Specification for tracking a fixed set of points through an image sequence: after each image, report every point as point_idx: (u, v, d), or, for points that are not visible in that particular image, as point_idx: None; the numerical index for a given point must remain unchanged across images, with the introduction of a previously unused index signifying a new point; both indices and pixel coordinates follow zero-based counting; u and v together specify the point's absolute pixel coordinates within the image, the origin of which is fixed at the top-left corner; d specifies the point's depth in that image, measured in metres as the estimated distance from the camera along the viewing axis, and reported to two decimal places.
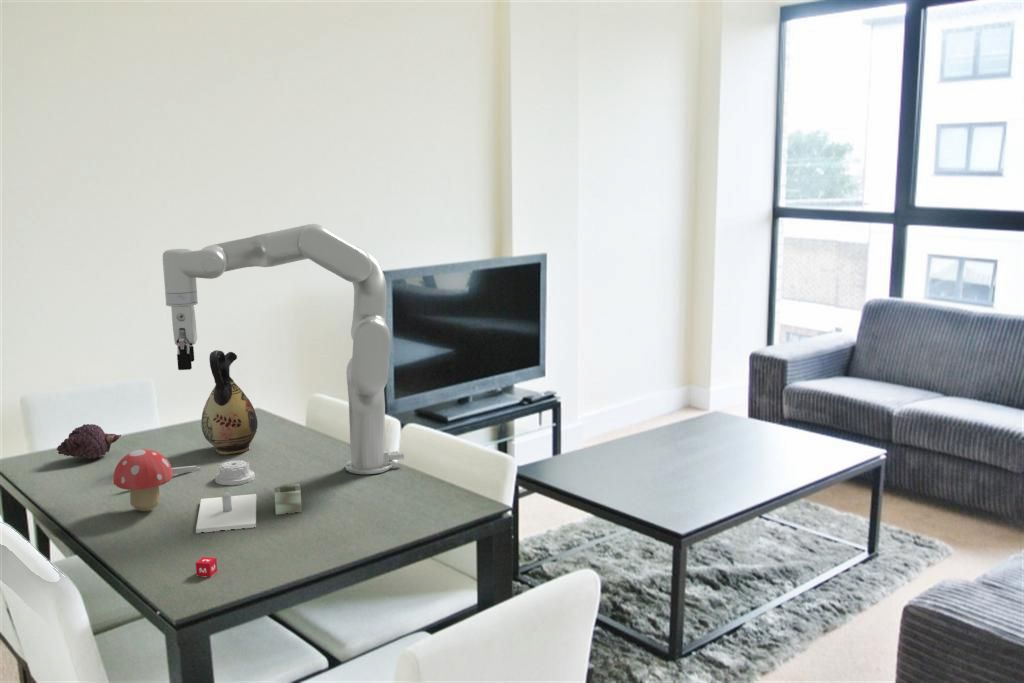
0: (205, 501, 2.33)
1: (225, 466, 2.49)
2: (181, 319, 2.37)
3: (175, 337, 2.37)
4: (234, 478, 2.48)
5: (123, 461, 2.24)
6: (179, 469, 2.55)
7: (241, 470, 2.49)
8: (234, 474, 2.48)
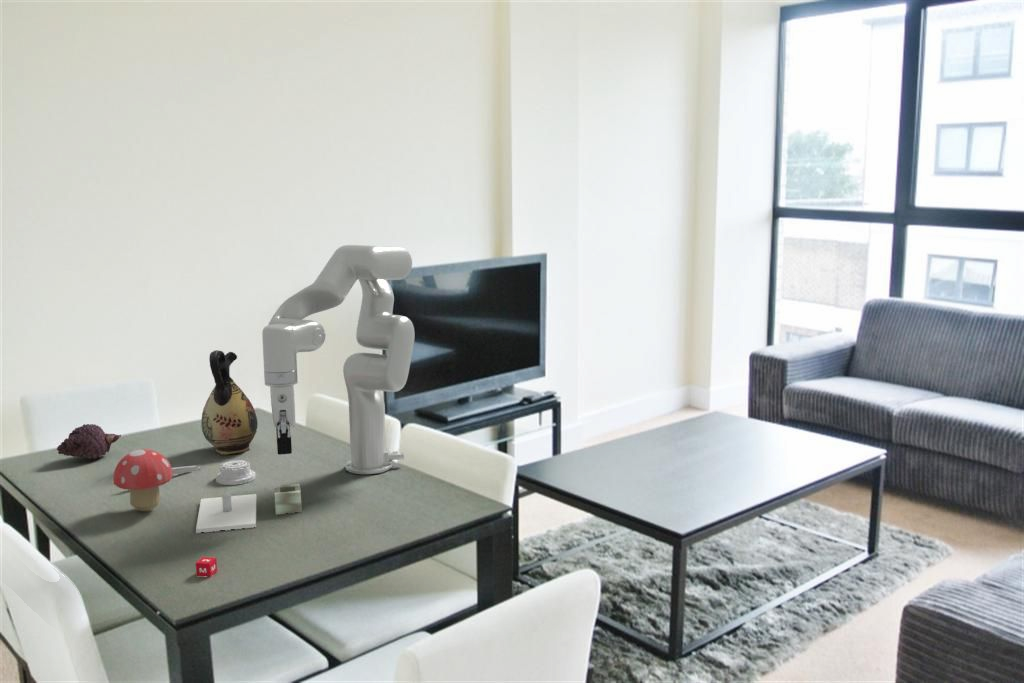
0: (205, 501, 2.33)
1: (226, 466, 2.49)
2: (281, 400, 2.21)
3: (275, 419, 2.21)
4: (235, 478, 2.48)
5: (123, 461, 2.24)
6: (179, 469, 2.55)
7: (242, 470, 2.49)
8: (235, 474, 2.48)
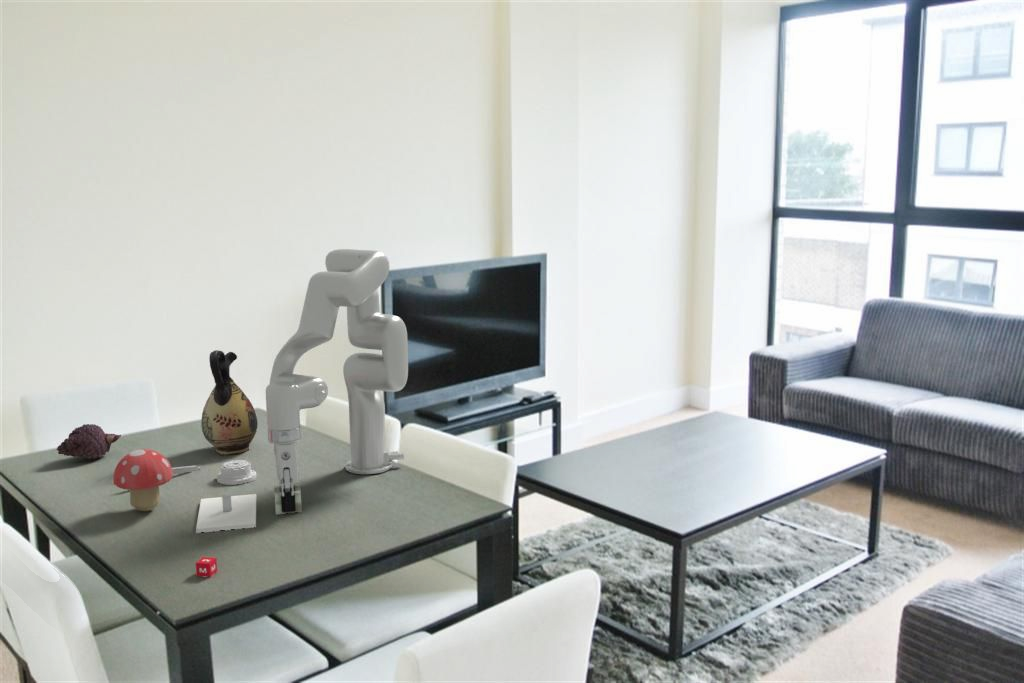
0: (205, 501, 2.33)
1: (227, 466, 2.50)
2: (285, 457, 2.24)
3: (279, 477, 2.23)
4: (236, 478, 2.48)
5: (123, 461, 2.24)
6: (179, 469, 2.55)
7: (243, 470, 2.49)
8: (236, 474, 2.48)
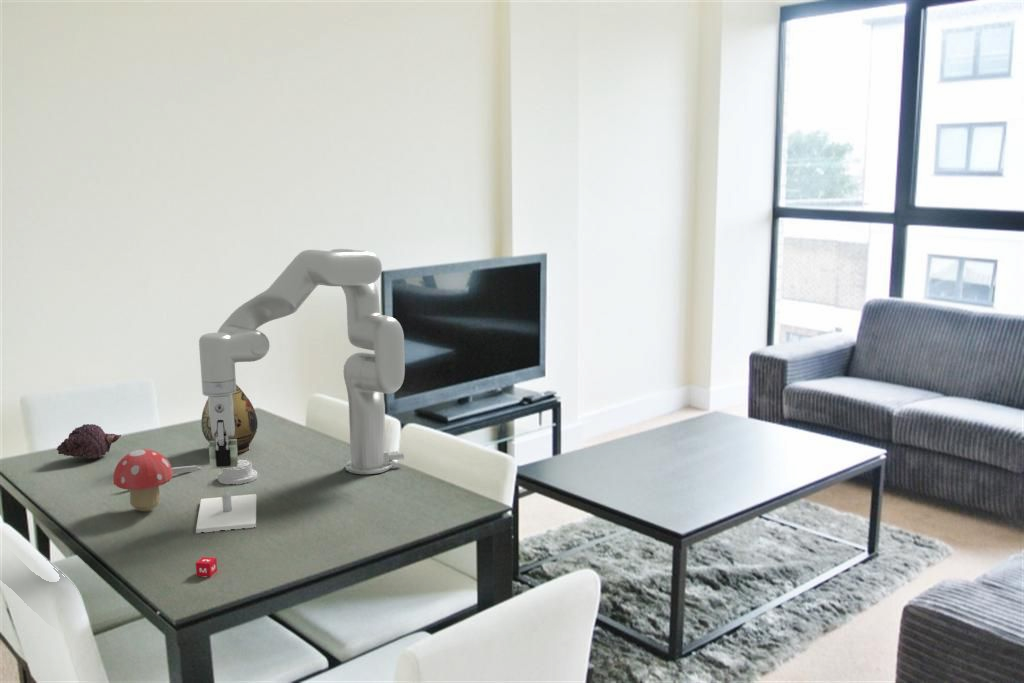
0: (205, 501, 2.33)
1: None
2: (219, 410, 2.18)
3: (213, 430, 2.18)
4: (237, 477, 2.48)
5: (123, 461, 2.24)
6: (179, 469, 2.55)
7: (244, 469, 2.49)
8: (237, 473, 2.48)
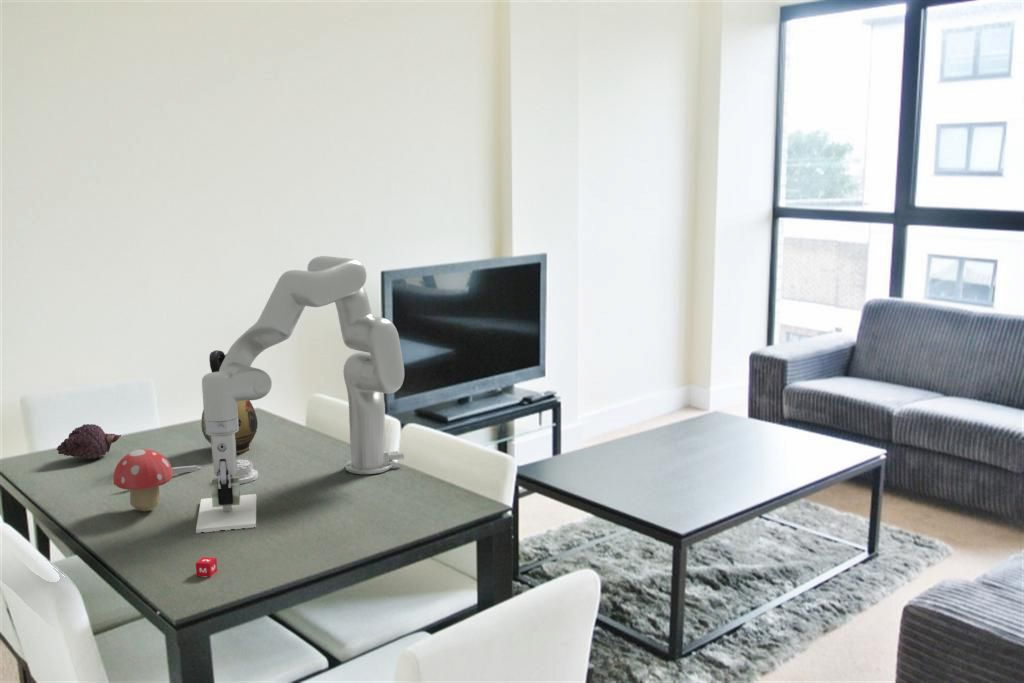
0: (205, 501, 2.33)
1: None
2: (222, 449, 2.20)
3: (215, 469, 2.19)
4: None
5: (123, 461, 2.24)
6: (179, 469, 2.55)
7: (244, 469, 2.49)
8: (237, 473, 2.49)
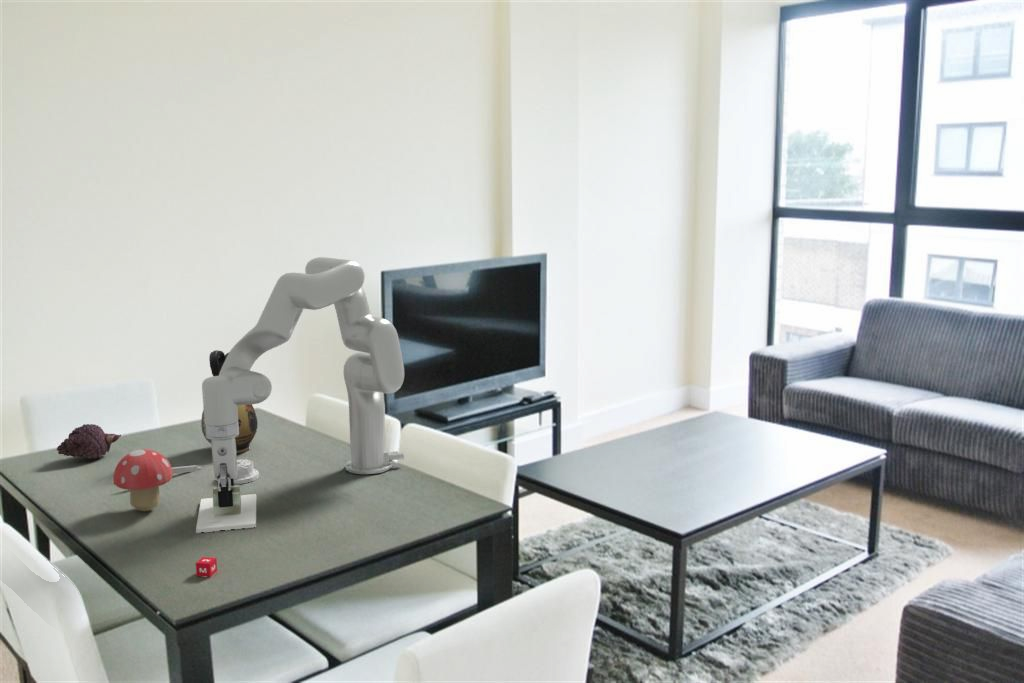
0: (205, 501, 2.33)
1: None
2: (222, 453, 2.20)
3: (216, 473, 2.20)
4: (238, 477, 2.49)
5: (123, 461, 2.24)
6: (179, 469, 2.55)
7: (245, 469, 2.49)
8: (238, 473, 2.49)
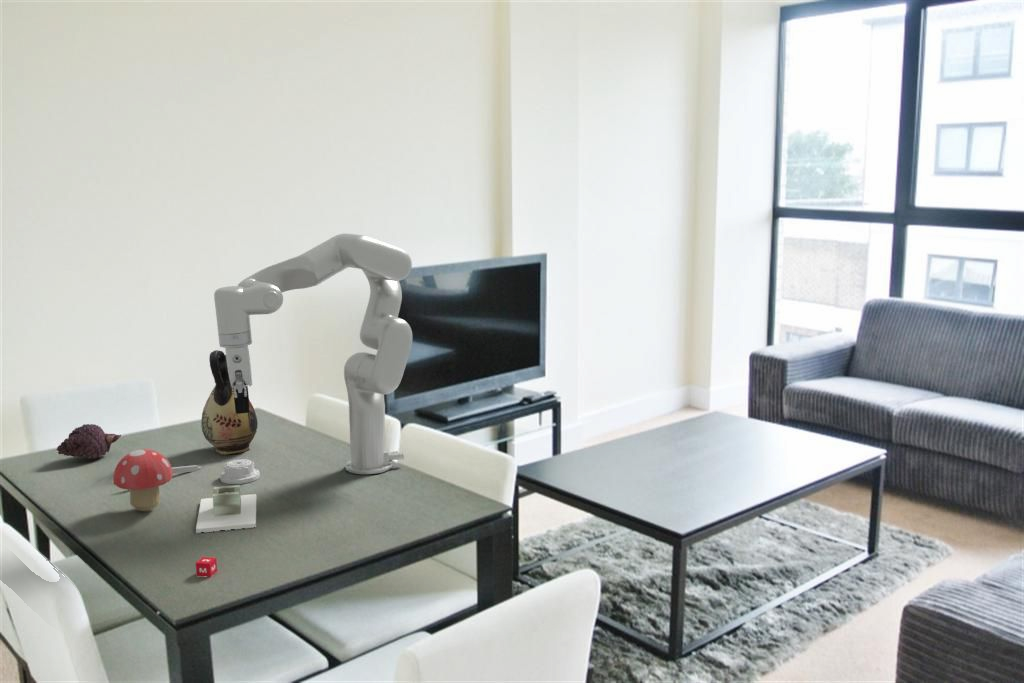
0: (205, 501, 2.33)
1: (230, 465, 2.50)
2: (237, 361, 2.26)
3: (231, 380, 2.26)
4: (239, 477, 2.49)
5: (123, 461, 2.24)
6: (179, 469, 2.55)
7: (246, 469, 2.50)
8: (239, 473, 2.49)
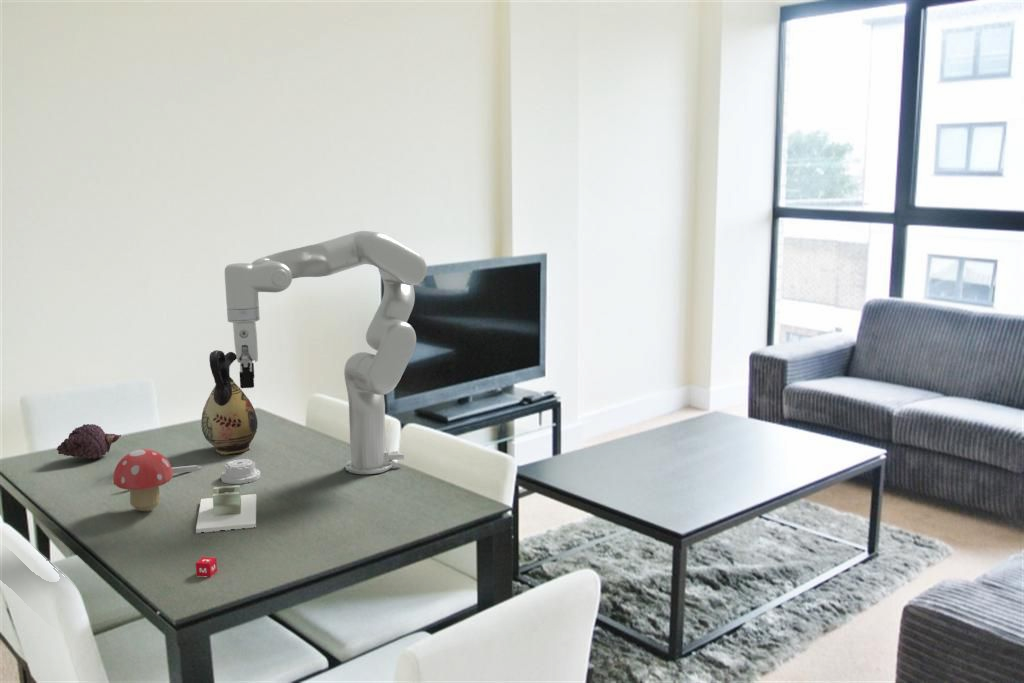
0: (205, 501, 2.33)
1: (231, 465, 2.50)
2: (244, 336, 2.30)
3: (238, 354, 2.30)
4: (240, 477, 2.49)
5: (123, 461, 2.24)
6: (180, 469, 2.55)
7: (247, 469, 2.50)
8: (240, 473, 2.49)
